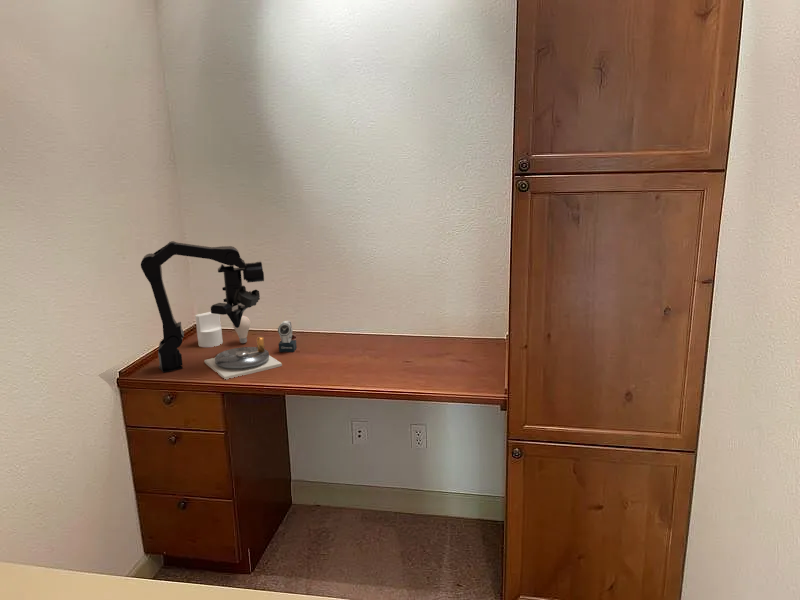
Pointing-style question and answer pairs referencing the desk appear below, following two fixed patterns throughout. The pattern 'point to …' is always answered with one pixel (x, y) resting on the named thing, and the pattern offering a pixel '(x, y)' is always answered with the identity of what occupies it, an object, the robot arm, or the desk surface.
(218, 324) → the base with upright slab
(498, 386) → the desk surface
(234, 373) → the wheel base
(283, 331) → the watch
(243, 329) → the light bulb
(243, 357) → the handwheel
